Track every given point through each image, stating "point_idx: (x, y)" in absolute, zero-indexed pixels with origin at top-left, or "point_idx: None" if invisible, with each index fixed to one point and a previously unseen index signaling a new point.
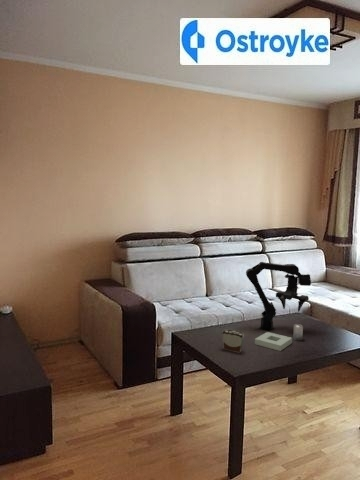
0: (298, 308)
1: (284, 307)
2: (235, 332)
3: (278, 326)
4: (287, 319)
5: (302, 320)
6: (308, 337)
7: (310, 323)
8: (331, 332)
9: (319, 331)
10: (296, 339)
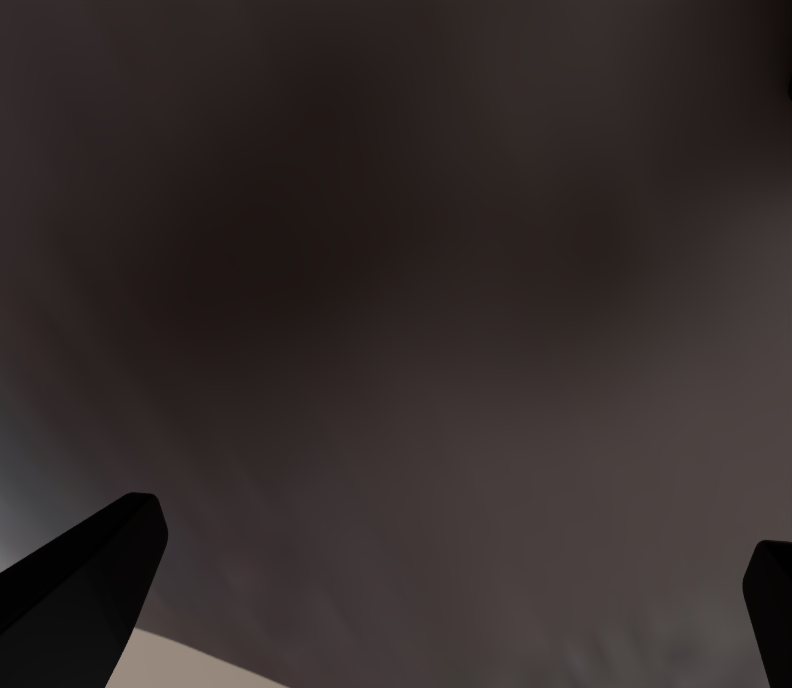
0: (17, 592)
1: (782, 617)
2: None
3: (706, 281)
4: (655, 625)
5: (473, 663)
6: (34, 63)
7: (353, 618)
8: (21, 472)
9: (121, 430)
10: None
